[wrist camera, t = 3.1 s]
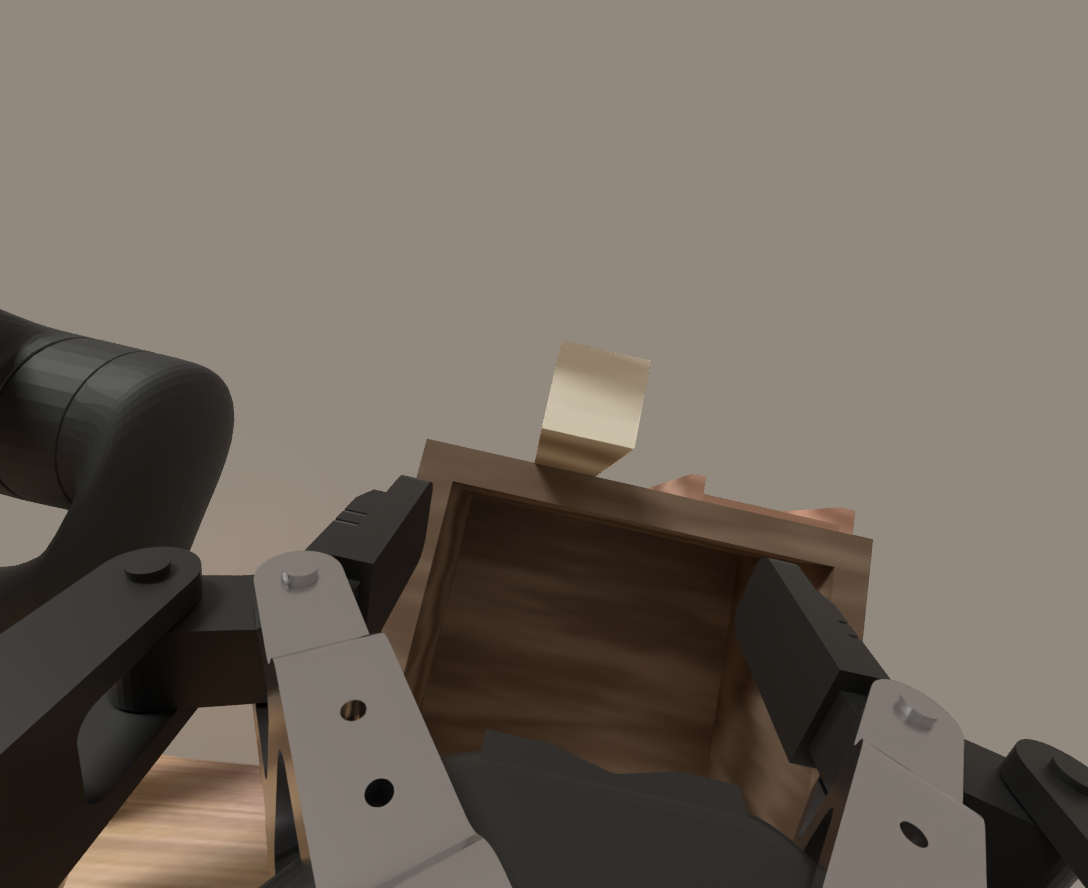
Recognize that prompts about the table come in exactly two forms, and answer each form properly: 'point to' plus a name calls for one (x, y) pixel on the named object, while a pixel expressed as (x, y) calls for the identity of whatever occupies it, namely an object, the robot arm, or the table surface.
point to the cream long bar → (592, 409)
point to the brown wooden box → (608, 619)
